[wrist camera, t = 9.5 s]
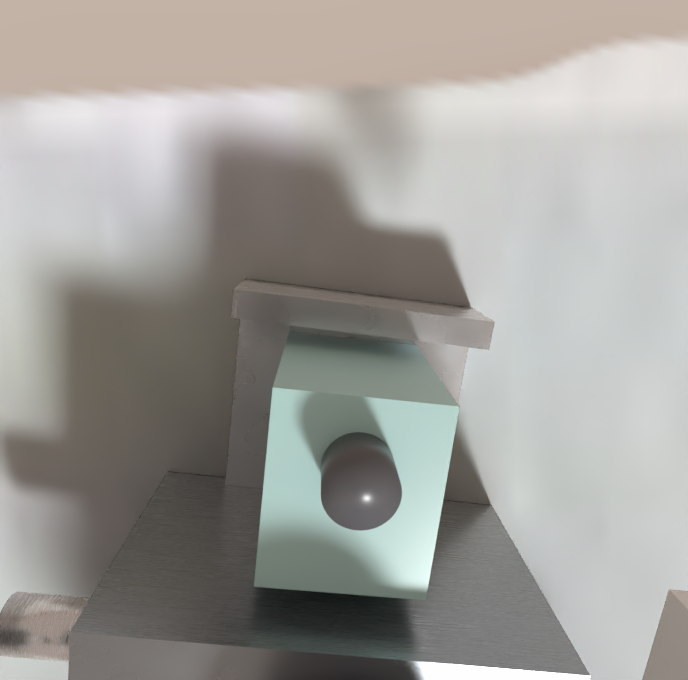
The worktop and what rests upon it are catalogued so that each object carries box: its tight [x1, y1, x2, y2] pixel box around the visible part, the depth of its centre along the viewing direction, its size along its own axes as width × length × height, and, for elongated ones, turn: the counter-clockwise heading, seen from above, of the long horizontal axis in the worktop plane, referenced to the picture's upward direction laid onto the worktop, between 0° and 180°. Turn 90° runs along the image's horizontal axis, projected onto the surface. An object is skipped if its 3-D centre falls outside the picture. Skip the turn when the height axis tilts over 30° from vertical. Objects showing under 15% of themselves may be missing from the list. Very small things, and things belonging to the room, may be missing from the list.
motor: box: [0, 279, 590, 680], centre depth 17 cm, size 18×16×12 cm
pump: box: [254, 332, 460, 600], centre depth 18 cm, size 5×6×8 cm
